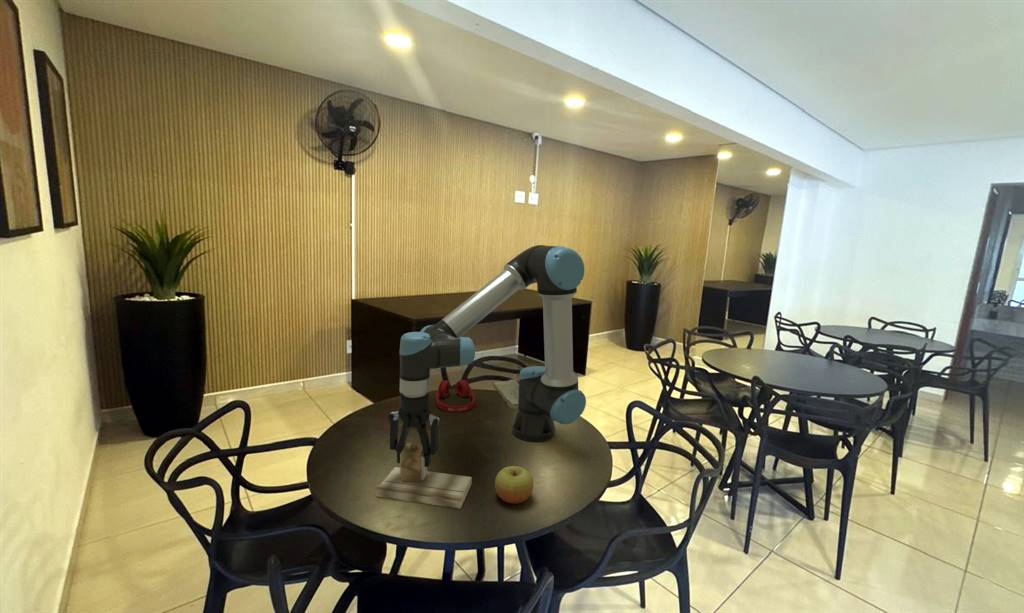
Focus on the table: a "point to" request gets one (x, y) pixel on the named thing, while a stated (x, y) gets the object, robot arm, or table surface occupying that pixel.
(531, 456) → the table surface
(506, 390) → the stone slab
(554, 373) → the robot arm
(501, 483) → the apple
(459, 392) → the headphones
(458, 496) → the board
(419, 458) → the beige wooden block
